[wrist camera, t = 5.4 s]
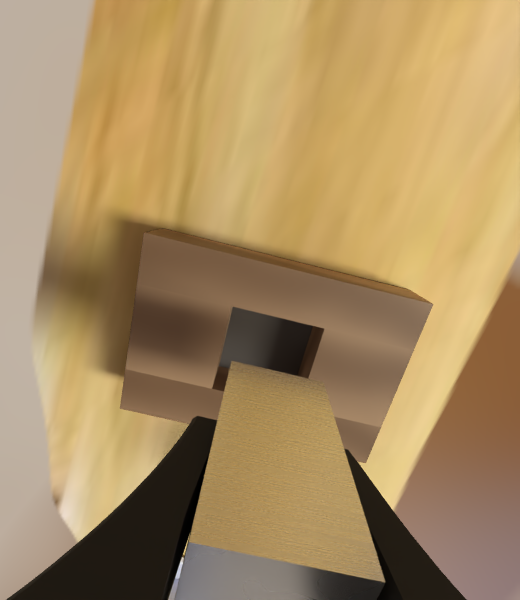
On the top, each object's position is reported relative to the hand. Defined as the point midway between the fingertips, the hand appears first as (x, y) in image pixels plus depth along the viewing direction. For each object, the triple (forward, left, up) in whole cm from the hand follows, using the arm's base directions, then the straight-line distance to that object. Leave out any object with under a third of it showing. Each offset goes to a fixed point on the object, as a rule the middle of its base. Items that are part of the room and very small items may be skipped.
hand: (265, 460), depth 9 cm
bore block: (0, 0, -9) cm, 9 cm away
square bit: (0, 0, -2) cm, 2 cm away
